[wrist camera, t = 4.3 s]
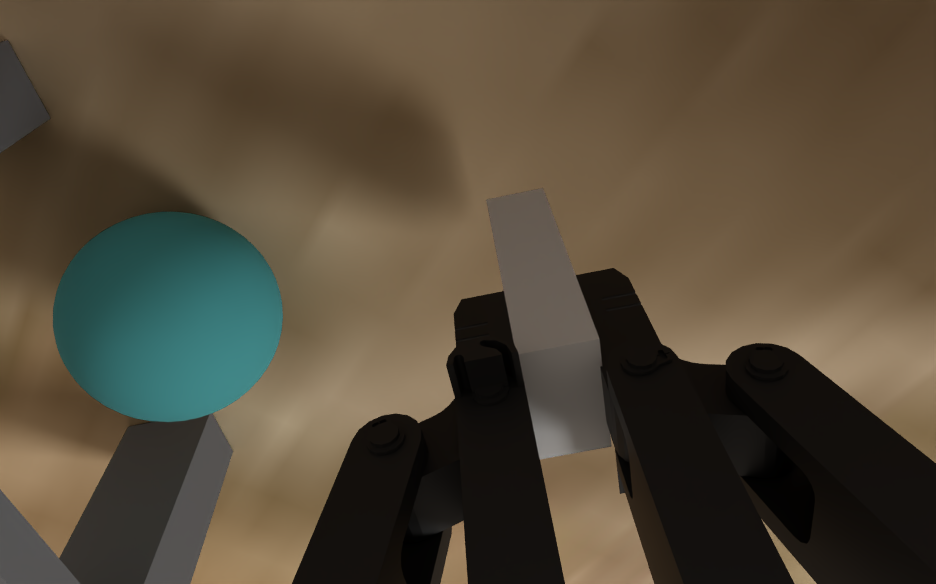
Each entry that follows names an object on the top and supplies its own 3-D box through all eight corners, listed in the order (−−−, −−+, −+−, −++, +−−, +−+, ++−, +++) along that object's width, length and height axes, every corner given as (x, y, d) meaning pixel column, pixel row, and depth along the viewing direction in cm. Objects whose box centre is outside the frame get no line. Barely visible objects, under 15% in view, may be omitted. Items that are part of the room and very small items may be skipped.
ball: (20, 220, 18) (227, 157, 19) (115, 376, 21) (287, 312, 22) (-13, 323, 13) (258, 231, 15) (113, 501, 16) (328, 410, 18)
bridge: (7, 40, 17) (-359, 196, 9) (233, 451, 24) (144, 726, 17) (-107, 66, 17) (-563, 242, 9) (153, 466, 24) (29, 745, 17)
